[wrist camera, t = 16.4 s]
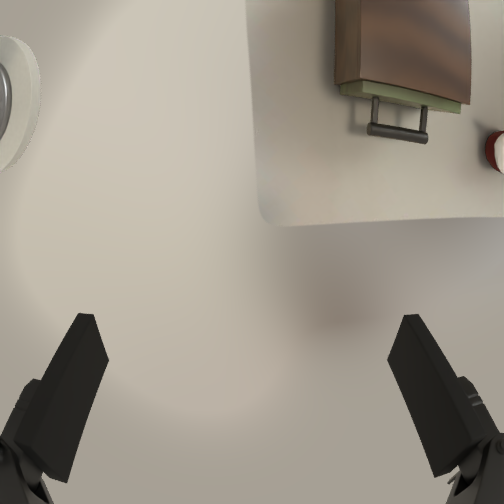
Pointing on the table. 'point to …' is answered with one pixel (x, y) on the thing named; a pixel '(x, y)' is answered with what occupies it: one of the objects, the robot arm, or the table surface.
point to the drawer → (404, 98)
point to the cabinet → (405, 45)
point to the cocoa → (496, 150)
